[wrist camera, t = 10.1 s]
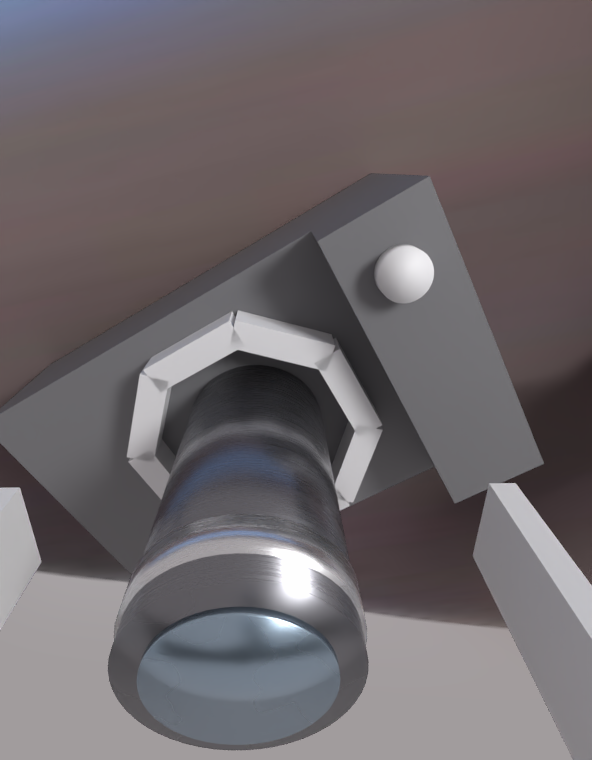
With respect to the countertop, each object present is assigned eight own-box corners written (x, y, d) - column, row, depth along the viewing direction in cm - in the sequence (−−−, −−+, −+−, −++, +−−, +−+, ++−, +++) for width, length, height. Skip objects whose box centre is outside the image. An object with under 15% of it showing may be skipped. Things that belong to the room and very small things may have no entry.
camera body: (371, 173, 20) (436, 176, 12) (459, 371, 25) (553, 473, 16) (49, 364, 23) (-71, 470, 15) (177, 512, 28) (137, 657, 19)
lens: (182, 362, 17) (74, 592, 8) (327, 362, 17) (387, 584, 8) (193, 481, 19) (120, 768, 10) (322, 479, 20) (364, 757, 10)
